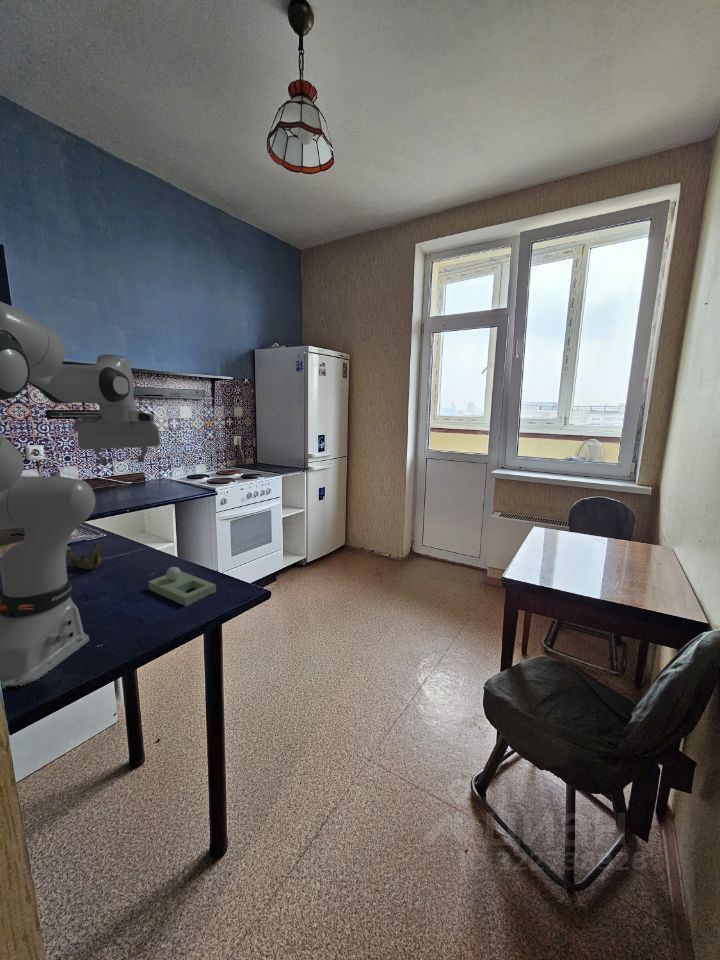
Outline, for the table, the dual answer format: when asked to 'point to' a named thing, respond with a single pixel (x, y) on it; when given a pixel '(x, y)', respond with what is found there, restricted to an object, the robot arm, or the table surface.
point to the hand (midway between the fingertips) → (122, 463)
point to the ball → (173, 573)
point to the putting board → (182, 588)
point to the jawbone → (84, 561)
